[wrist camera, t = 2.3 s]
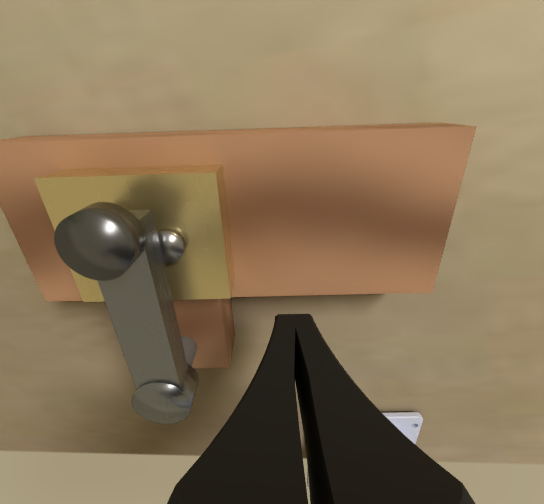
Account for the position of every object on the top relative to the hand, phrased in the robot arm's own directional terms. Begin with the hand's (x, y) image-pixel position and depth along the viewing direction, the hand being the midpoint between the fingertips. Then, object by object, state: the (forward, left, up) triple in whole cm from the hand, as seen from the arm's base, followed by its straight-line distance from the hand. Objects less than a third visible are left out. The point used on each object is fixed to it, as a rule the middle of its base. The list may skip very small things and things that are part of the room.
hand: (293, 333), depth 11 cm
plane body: (+1, +3, -5) cm, 6 cm away
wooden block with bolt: (+4, +5, -2) cm, 7 cm away
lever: (+1, +5, 0) cm, 6 cm away
